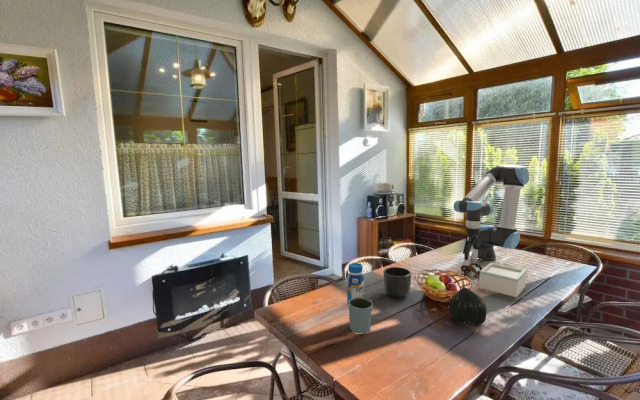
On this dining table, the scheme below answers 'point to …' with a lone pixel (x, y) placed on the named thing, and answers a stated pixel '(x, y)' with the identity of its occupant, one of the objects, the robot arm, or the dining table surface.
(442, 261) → the dining table surface
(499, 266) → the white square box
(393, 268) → the planter
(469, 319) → the squash
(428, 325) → the dining table surface
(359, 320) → the green tumbler cup
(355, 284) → the beverage bottle
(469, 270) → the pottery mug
